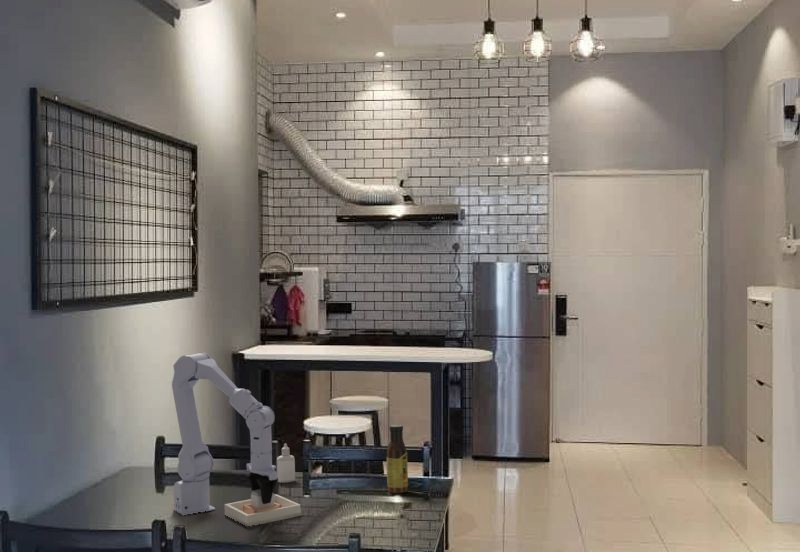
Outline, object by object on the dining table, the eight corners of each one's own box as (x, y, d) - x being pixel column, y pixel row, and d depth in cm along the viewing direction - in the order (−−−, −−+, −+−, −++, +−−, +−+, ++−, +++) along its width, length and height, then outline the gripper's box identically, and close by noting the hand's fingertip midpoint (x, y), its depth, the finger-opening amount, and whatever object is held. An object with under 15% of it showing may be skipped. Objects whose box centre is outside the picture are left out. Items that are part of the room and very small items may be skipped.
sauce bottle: (407, 494, 248) (406, 427, 248) (386, 494, 249) (385, 427, 248) (408, 488, 255) (406, 423, 255) (387, 488, 255) (386, 423, 255)
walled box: (247, 527, 219) (246, 515, 219) (224, 515, 231) (224, 504, 231) (300, 515, 229) (300, 504, 229) (276, 504, 240) (276, 494, 240)
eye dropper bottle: (291, 483, 264) (290, 445, 264) (275, 482, 265) (274, 444, 265) (297, 480, 268) (296, 442, 268) (280, 479, 270) (280, 442, 269)
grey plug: (257, 515, 227) (257, 493, 227) (251, 512, 230) (250, 490, 230) (274, 512, 230) (273, 490, 230) (267, 509, 233) (267, 487, 233)
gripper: (286, 454, 226) (287, 504, 226) (262, 445, 238) (263, 493, 238) (263, 457, 222) (264, 509, 222) (239, 449, 234) (240, 497, 234)
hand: (262, 501), depth 230 cm, fingers open, 5 cm apart
